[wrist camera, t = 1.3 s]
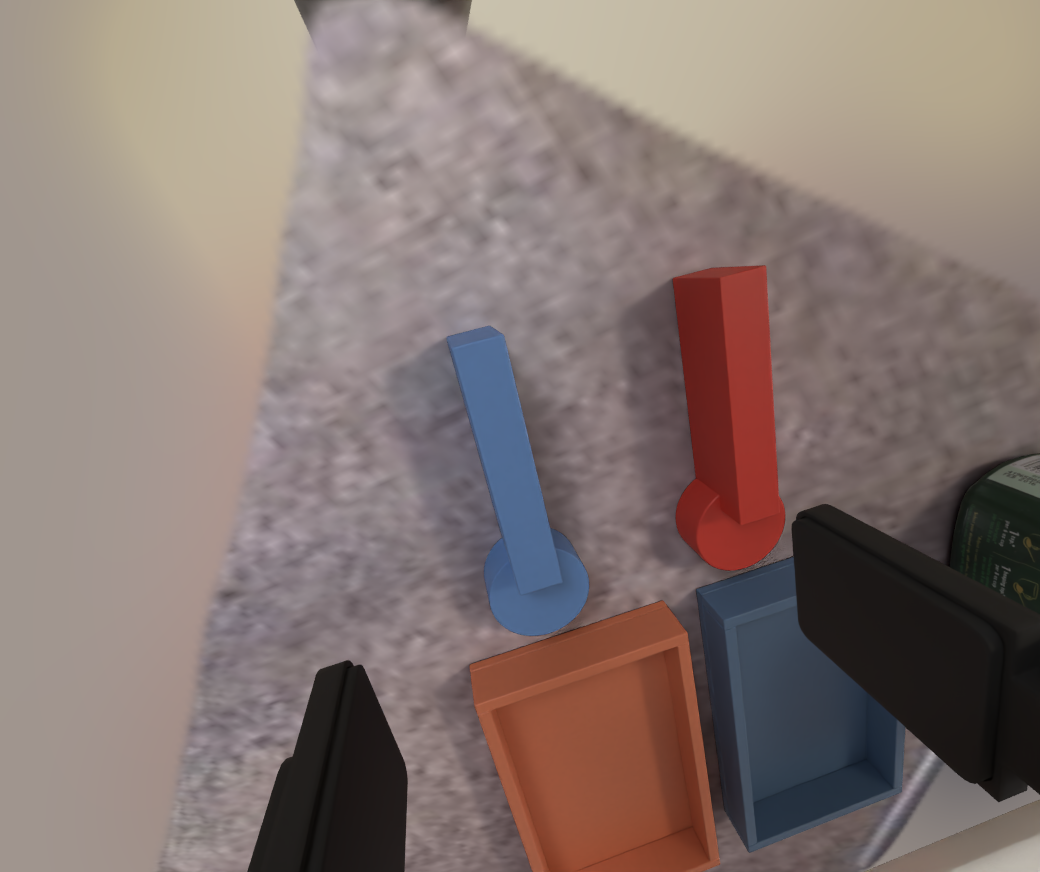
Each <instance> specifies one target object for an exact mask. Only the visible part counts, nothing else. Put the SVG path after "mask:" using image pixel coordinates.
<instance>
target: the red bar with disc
mask: <svg viewBox="0 0 1040 872" xmlns="http://www.w3.org/2000/svg"><path fill="white" fill-rule="evenodd" d="M673 286H674V295H675V303H676V312H677V320H678V329H679V337H680V346H681V354H682V363H683V371H684V380H685V388H686V397H687V405H688V414H689V422H690V431H691V439H692V448H693V456H694V465H695V473H696V479H695V480H694V481H692V482H691V483H690V485H689V486H688V487H687V488H686V489H685V491H684V492H683V494H682V495H681V498H680V500H679V502H678V505H677V509H676V525H677V529H678V532H679V534H680V535H681V537H682V538H683V540H684V541H685V542H686V543H687V544H688V545H689V546H690V547H691V548H692V549H693V550H694V551H695V552H696V553H697V554H698V555H699V556H700V557H701V558H702V559H703V560H704V561H706V562H707V563H708V564H709V565H711V566H713V567H715V568H717V569H721V570H728V571H730V570H740V569H743V568H746V567H749V566H751V565H753V564H755V563H757V562H758V561H760V560H761V559H763V558H764V557H765V556H766V555H767V554H768V553H769V552H770V551H771V550H772V549H773V548H774V546H775V545H776V543H777V542H778V540H779V538H780V536H781V534H782V531H783V528H784V523H785V509H784V505H783V503H782V500H781V498H780V497H779V493H778V475H777V456H776V438H775V420H774V401H773V383H772V365H771V347H770V328H769V310H768V292H767V273H766V266H765V265H764V266H742V267H720V268H709V269H706V270H702V271H698V272H694V273H690V274H686V275H682V276H679V277H675V278H673Z"/></svg>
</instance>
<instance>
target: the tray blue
mask: <svg viewBox="0 0 1040 872" xmlns="http://www.w3.org/2000/svg"><path fill="white" fill-rule="evenodd" d="M696 592H697V600H698V607H699V615H700V623H701V631H702V639H703V646H704V654H705V662H706V670H707V677H708V685H709V693H710V701H711V709H712V716H713V724H714V732H715V740H716V747H717V755H718V763H719V771H720V779H721V786H722V794H723V802H724V810H725V812H726V814H727V815H728V817H729V819H730V821H731V822H732V824H733V826H734V828H735V829H736V831H737V833H738V835H739V836H740V838H741V840H742V842H743V843H744V845H745V847H746V849H747V850H748V852H749V853H750V852H753V851H755V850H758V849H760V848H763V847H765V846H768V845H770V844H773V843H775V842H778V841H781V840H783V839H786V838H788V837H791V836H793V835H796V834H798V833H801V832H803V831H806V830H808V829H811V828H813V827H816V826H818V825H821V824H823V823H826V822H828V821H831V820H833V819H836V818H838V817H841V816H843V815H846V814H848V813H851V812H853V811H856V810H858V809H861V808H863V807H866V806H868V805H871V804H873V803H876V802H878V801H881V800H883V799H886V798H888V797H891V796H894V795H896V794H899V793H901V792H902V778H903V760H904V742H905V726H904V725H903V724H901V723H900V722H899V721H898V720H897V719H896V718H895V717H894V716H893V715H891V714H890V713H889V712H888V711H887V710H886V709H885V708H884V707H883V706H882V705H880V704H879V703H878V702H877V701H876V700H875V699H874V698H873V697H872V696H870V695H869V694H868V693H867V692H866V691H865V690H864V689H863V688H862V687H860V686H859V685H858V684H857V683H856V682H855V681H854V680H853V679H852V678H850V677H849V676H848V675H847V674H846V673H845V672H844V671H843V670H842V669H841V668H839V667H838V666H837V665H836V664H835V663H834V662H833V661H832V660H831V659H829V658H828V657H827V656H826V655H825V654H824V653H823V652H822V651H821V650H819V649H818V648H817V647H816V646H815V645H814V644H813V643H812V642H811V641H809V640H808V638H807V637H806V636H805V635H804V634H803V632H802V630H801V628H800V626H799V623H798V612H797V598H796V584H795V569H794V557H792V558H789V559H786V560H783V561H780V562H777V563H774V564H771V565H768V566H765V567H762V568H759V569H756V570H753V571H750V572H747V573H744V574H741V575H738V576H735V577H732V578H729V579H726V580H723V581H720V582H717V583H714V584H711V585H708V586H705V587H702V588H699V589H696Z"/></svg>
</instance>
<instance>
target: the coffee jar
mask: <svg viewBox="0 0 1040 872" xmlns="http://www.w3.org/2000/svg"><path fill="white" fill-rule="evenodd" d="M950 568H952V569H954V570H956V571H958V572H960V573H961V574H963V575H965V576H967V577H969V578H971V579H973V580H975V581H977V582H979V583H981V584H983V585H984V586H986V587H988V588H990V589H992V590H994V591H996V592H998V593H1000V594H1002V595H1004V596H1006V597H1007V598H1009V599H1011V600H1013V601H1015V602H1017V603H1019V604H1021V605H1023V606H1025V607H1027V608H1029V609H1030V610H1032V611H1034V612H1036V613H1038V614H1040V454H1032V455H1027V456H1021V457H1018V458H1015V459H1012V460H1008V461H1006V462H1003V463H1002V464H1000V465H999V466H997V467H995V468H994V469H992V470H991V471H989V472H988V473H986V474H985V475H984V476H983V477H982V478H981V479H980V480H978V481H977V482H976V483H975V484H973V485H972V486H971V487H970V488H969V489H968V490H967V492H966V494H965V496H964V498H963V500H962V502H961V506H960V509H959V513H958V518H957V521H956V525H955V530H954V536H953V543H952V551H951V561H950Z"/></svg>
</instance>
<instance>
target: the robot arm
mask: <svg viewBox="0 0 1040 872" xmlns="http://www.w3.org/2000/svg"><path fill="white" fill-rule="evenodd" d="M792 541H793V555H794V569H795V584H796V598H797V612H798V623H799V626H800V628H801V630H802V632H803V634H804V635H805V636H806V637H807V638H808V640H809V641H811V642H812V643H813V644H814V645H815V646H816V647H817V648H818V649H819V650H821V651H822V652H823V653H824V654H825V655H826V656H827V657H828V658H829V659H831V660H832V661H833V662H834V663H835V664H836V665H837V666H838V667H839V668H841V669H842V670H843V671H844V672H845V673H846V674H847V675H848V676H849V677H850V678H852V679H853V680H854V681H855V682H856V683H857V684H858V685H859V686H860V687H862V688H863V689H864V690H865V691H866V692H867V693H868V694H869V695H870V696H872V697H873V698H874V699H875V700H876V701H877V702H878V703H879V704H880V705H882V706H883V707H884V708H885V709H886V710H887V711H888V712H889V713H890V714H891V715H893V716H894V717H895V718H896V719H897V720H898V721H899V722H900V723H901V724H903V725H904V726H905V727H906V728H907V729H908V730H909V731H910V732H911V733H913V734H914V735H915V736H916V737H917V738H918V739H919V740H920V741H921V742H922V743H924V744H925V745H926V746H927V747H928V748H929V749H930V750H931V751H932V752H934V753H935V754H936V755H937V756H938V757H939V758H940V759H941V760H942V761H944V762H945V763H946V764H947V765H948V766H949V767H950V768H951V769H952V770H954V771H955V772H956V773H957V774H958V775H959V776H961V777H962V778H963V779H964V780H966V781H968V782H970V783H974V784H976V783H978V784H979V785H980V786H981V787H982V788H983V789H984V790H985V791H987V792H988V793H989V794H990V795H991V796H992V797H993V798H994V799H996V800H997V801H998V802H1000V801H1003V800H1005V799H1007V798H1010V797H1012V796H1015V795H1017V794H1019V793H1022V792H1024V791H1027V786H1028V785H1029V786H1030V787H1031V788H1033V789H1034V790H1035V791H1036V792H1037V793H1039V794H1040V614H1038V613H1036V612H1034V611H1032V610H1030V609H1029V608H1027V607H1025V606H1023V605H1021V604H1019V603H1017V602H1015V601H1013V600H1011V599H1009V598H1007V597H1006V596H1004V595H1002V594H1000V593H998V592H996V591H994V590H992V589H990V588H988V587H986V586H984V585H983V584H981V583H979V582H977V581H975V580H973V579H971V578H969V577H967V576H965V575H963V574H961V573H960V572H958V571H956V570H954V569H952V568H950V567H948V566H946V565H944V564H942V563H940V562H938V561H937V560H935V559H933V558H931V557H929V556H927V555H925V554H923V553H921V552H919V551H917V550H915V549H914V548H912V547H910V546H908V545H906V544H904V543H902V542H900V541H898V540H896V539H894V538H892V537H891V536H889V535H887V534H885V533H883V532H881V531H879V530H877V529H875V528H873V527H871V526H869V525H868V524H866V523H864V522H862V521H860V520H858V519H856V518H854V517H852V516H850V515H848V514H846V513H845V512H843V511H841V510H839V509H837V508H835V507H833V506H831V505H828V504H822V505H819V506H816V507H813V508H810V509H807V510H804V511H801V512H799V513H798V514H797V517H796V521H794V522H793V523H792ZM407 785H408V780H407V771H406V766H405V762H404V760H403V757H402V755H401V753H400V750H399V748H398V746H397V743H396V741H395V739H394V736H393V734H392V732H391V729H390V727H389V725H388V722H387V720H386V718H385V716H384V713H383V711H382V709H381V706H380V704H379V702H378V699H377V697H376V695H375V692H374V690H373V688H372V685H371V683H370V681H369V679H368V676H367V674H366V672H365V669H364V667H363V666H362V665H357V666H354V665H353V664H352V662H351V661H348V660H347V661H344V662H341V663H338V664H335V665H332V666H329V667H326V668H323V669H320V670H319V671H318V672H317V674H316V677H315V681H314V684H313V688H312V691H311V695H310V698H309V702H308V705H307V709H306V712H305V716H304V719H303V723H302V726H301V730H300V733H299V737H298V740H297V743H296V747H295V750H294V754H293V757H290V758H287V759H286V760H285V761H284V762H283V763H282V764H281V767H280V769H279V771H278V774H277V777H276V781H275V784H274V787H273V790H272V793H271V797H270V800H269V803H268V806H267V810H266V813H265V816H264V819H263V823H262V826H261V829H260V832H259V836H258V839H257V842H256V845H255V849H254V852H253V855H252V858H251V862H250V865H249V868H248V871H247V872H404V868H405V840H406V813H407ZM865 872H1040V800H1038V801H1035V802H1032V803H1030V804H1027V805H1025V806H1022V807H1020V808H1018V809H1015V810H1012V811H1010V812H1008V813H1005V814H1003V815H1001V816H998V817H996V818H993V819H991V820H988V821H986V822H983V823H981V824H979V825H976V826H974V827H971V828H969V829H967V830H964V831H962V832H959V833H957V834H954V835H952V836H949V837H947V838H945V839H942V840H940V841H937V842H935V843H932V844H930V845H928V846H925V847H923V848H920V849H918V850H916V851H913V852H911V853H908V854H906V855H904V856H901V857H899V858H896V859H894V860H891V861H889V862H886V863H884V864H881V865H879V866H877V867H874V868H872V869H870V870H867V871H865Z"/></svg>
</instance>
